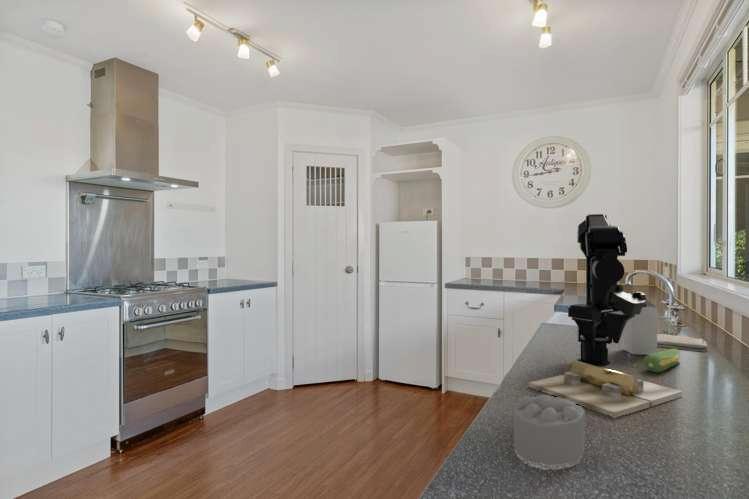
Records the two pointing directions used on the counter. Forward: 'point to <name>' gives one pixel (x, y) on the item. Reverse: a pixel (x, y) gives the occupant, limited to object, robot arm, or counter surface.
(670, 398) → the hinge leaves
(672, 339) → the washcloth
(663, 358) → the edible corn
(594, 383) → the hinge pin
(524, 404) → the lumpy-topped squat cylinder
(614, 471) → the counter surface
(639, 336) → the milk carton
